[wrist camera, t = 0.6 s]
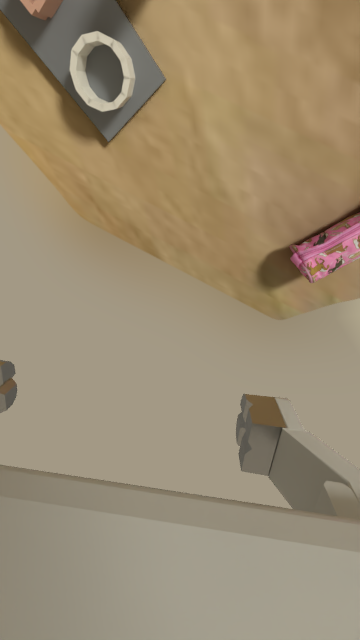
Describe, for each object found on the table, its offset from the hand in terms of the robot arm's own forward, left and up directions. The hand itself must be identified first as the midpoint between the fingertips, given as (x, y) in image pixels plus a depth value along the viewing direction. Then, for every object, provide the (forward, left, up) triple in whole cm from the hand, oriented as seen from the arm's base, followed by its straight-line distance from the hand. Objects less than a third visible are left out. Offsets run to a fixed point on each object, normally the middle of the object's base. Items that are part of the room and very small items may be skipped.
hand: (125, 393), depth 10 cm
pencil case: (+29, +16, -48) cm, 58 cm away
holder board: (-18, -3, -47) cm, 51 cm away
